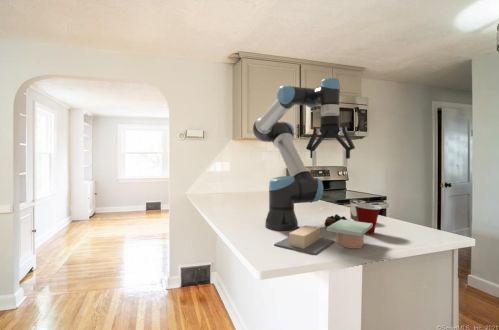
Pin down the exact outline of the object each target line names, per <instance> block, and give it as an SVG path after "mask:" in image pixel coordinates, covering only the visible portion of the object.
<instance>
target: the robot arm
mask: <svg viewBox="0 0 499 330" xmlns="http://www.w3.org/2000/svg"><path fill="white" fill-rule="evenodd" d="M340 89H341V87H340V79H339V78H337V77H327V78H323V79H322V80H321V81H320V86H319V87H316V88H311V87H310V88H309V87H300V86H292V85H281V86H280V87H279V88H278V91H277V92H276V93H277V94H276V100H275V101H274V102H273V103H272V105H270V107H269V108H268V109H267V110H266V111H265V113H264V114H262V116H261V117H258V118H257V119H256V120H255V121H254V124H253V126H252V131H253V135H254V136H255V137H256V139H257V140H259V141H260V142H264V143H265V142H267V143H272V144H273V146H274V147H275V148H277V149H278V150H279V154H280V155H281V158H282V159H283V162H284V164H285V166H286V168H287V170H288V173H289V175H282V176H277V177H273V178H271V179H270V180H269V185H268V212H267V215H266V218H265V223H264V225H265V227H266V228H267V229H269V230H270V229H271V230H275V231H294V230H297V229H299V226H298V225H299V221H298V219H297V215H296V211H295V204H304V203H305V204H306V203H315V202H319V200H321V198H322V197H323V193H324V184H323V181H322V179H320V178H318V177H314V175H313V173H312V172H311V171H309V170H307V167H306V166H305V164H304V162H303V160H302V158H301V156H300V154H299V152H298V150H297V148H296V147H295V144H294V142H293V141H294V138H295V130H294V127H293V125H292V124H291V123H290V122H286V121H280V120H281V119H282V118H283V117H284V115H287V113H288V112H289V111H290V110H291V109H292V108H293V107H294V106H295V105H298V106H306V107H307V108H317V107H318V106H320V116H321V117H320V128H316V127H315V128H313V130H312V131H313V132H312V134H311V137H310V139H309V141H308V143H307V146H306V150H308V151H310V154H309V157H310V159H311V161H312V163H311V166H312V167H317V151H316V149H317V148H318V147H319V146H320V145H321V143H322V142H323V141H324V140H325V139H336V140H337V141H338V142H339V144H340V145H341V146H342V147H343V148H344V150H343V168H347V167H348V162H349V161H348V159H350V158H351V151H352V150H355V149H356V147H355V144H354V142H353V141H352V138H351V137H350V134H349V132H348V128H347V126H342V127H340V117H339V115H340V93H341V92H340ZM340 131H341V133H342V134H343V136H344V139H345V141H346V142H345V141H344V140H343V138H342V137H341V135H340V134H339V133H340ZM319 133H320V135H319V137H318V134H319ZM317 137H318V138H317Z"/></svg>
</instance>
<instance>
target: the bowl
mask: <svg viewBox="0 0 499 330" xmlns="http://www.w3.org/2000/svg"><path fill="white" fill-rule="evenodd" d="M364 238H365V234H363V235H362V236H356V235H350V234H344V233H338V232H336V242H337V245H338V246H340V247H342V248H346V249H361V248H363V247H364V241H365V239H364Z"/></svg>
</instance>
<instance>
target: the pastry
mask: <svg viewBox="0 0 499 330" xmlns="http://www.w3.org/2000/svg"><path fill="white" fill-rule="evenodd" d="M341 219H342V220H348V218H346V216H340V215H338V214H334V215H331V216H327V217H326V219H325V220H324V229H325V230H327V227H328V226H330V225H332V224H334V223H335V222H337V221H339V220H341Z"/></svg>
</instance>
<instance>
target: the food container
mask: <svg viewBox="0 0 499 330" xmlns="http://www.w3.org/2000/svg"><path fill="white" fill-rule="evenodd" d="M354 204H367V201H365V200H362V199H350V200H349V205H350V206H349V208H350V212H349V213H350V220H351V221H357V222H358V220H357V213H356V208H355V205H354Z"/></svg>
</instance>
